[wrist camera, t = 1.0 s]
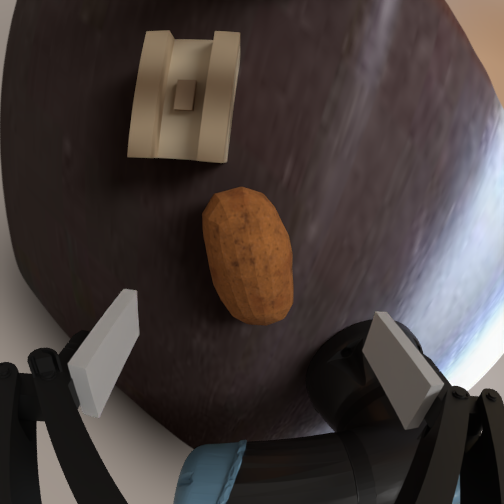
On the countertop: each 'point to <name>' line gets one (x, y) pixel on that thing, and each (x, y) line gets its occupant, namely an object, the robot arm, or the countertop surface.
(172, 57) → the cradle
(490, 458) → the robot arm
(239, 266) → the potato
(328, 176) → the countertop surface
